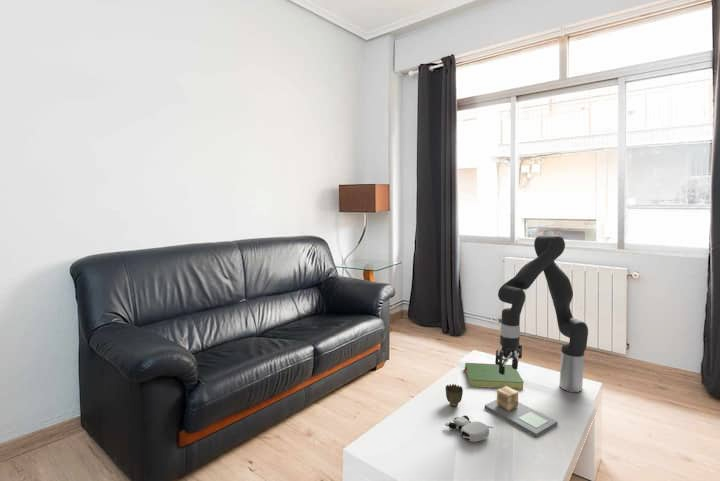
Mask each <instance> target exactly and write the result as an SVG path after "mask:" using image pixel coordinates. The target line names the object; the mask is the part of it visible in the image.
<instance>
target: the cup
mask: <svg viewBox="0 0 720 481" xmlns="http://www.w3.org/2000/svg"><path fill="white" fill-rule="evenodd" d="M463 392H464V389H463V387H462V385H460V386H459V384H457V385H456V383H455V384H454V383H452V384H450V383H449V384H447V385H445V397H446V400H447V401H448V403H449V405H450V406H451V407H453V408H457V407H458V405H459V403H460V402H462V399H463V394H464V393H463Z"/></svg>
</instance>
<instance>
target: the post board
mask: <svg viewBox="0 0 720 481" xmlns="http://www.w3.org/2000/svg"><path fill="white" fill-rule="evenodd" d="M484 409H485V410H487V411H488V412H490V413H492V414H494V415H495V416H498V417H499V418H501V419H502V420H505V421H506V422H508V423H509V424H512V425H513V426H515V427H517V428H519V429H520V430H522V431H524V432H526V433H528V434H529V435H531V436H533V437H535V438H538V437H539V436H541V435H543V434H545V433H547V432H548V431H550V430H552V429H553V428H554V427H556V426H558V424H559V423H558V421H557V420H556V419H553V418H552V417H549V416H548V415H546V414H543V413H541V412H539V411H538V410H535V409H533V408H532V407H529V406H527V405H525V404H524V403H522V402H519V401H518V407H515V408H513V409H511V410H509V411H508V410H506V409H505V408H503V407H501V406H499V405H497V399H495V400H493V401H490V402H489V403H486V404H484Z"/></svg>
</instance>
